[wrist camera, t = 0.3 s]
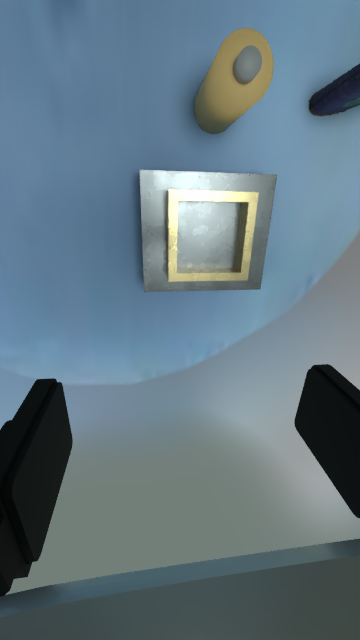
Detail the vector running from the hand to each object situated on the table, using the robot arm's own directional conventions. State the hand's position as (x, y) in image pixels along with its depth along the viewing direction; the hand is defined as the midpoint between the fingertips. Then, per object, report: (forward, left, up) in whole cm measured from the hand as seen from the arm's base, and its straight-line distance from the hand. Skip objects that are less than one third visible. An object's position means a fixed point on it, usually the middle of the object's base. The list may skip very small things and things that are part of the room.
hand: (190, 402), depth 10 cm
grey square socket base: (-3, +6, -30) cm, 31 cm away
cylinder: (-17, +7, -30) cm, 35 cm away
